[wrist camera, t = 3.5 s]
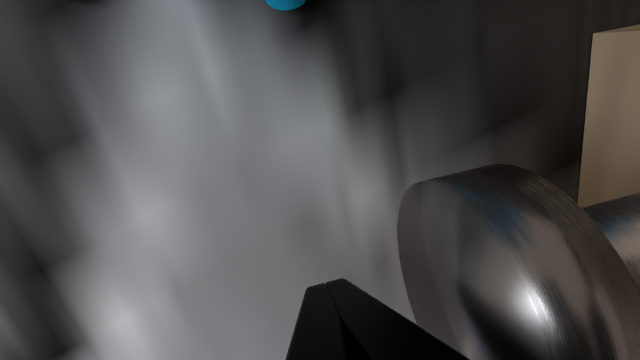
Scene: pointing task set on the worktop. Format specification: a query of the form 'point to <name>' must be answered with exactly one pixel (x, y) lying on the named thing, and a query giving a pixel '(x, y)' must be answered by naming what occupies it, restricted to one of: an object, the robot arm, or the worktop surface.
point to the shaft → (521, 267)
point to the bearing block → (612, 118)
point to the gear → (285, 4)
